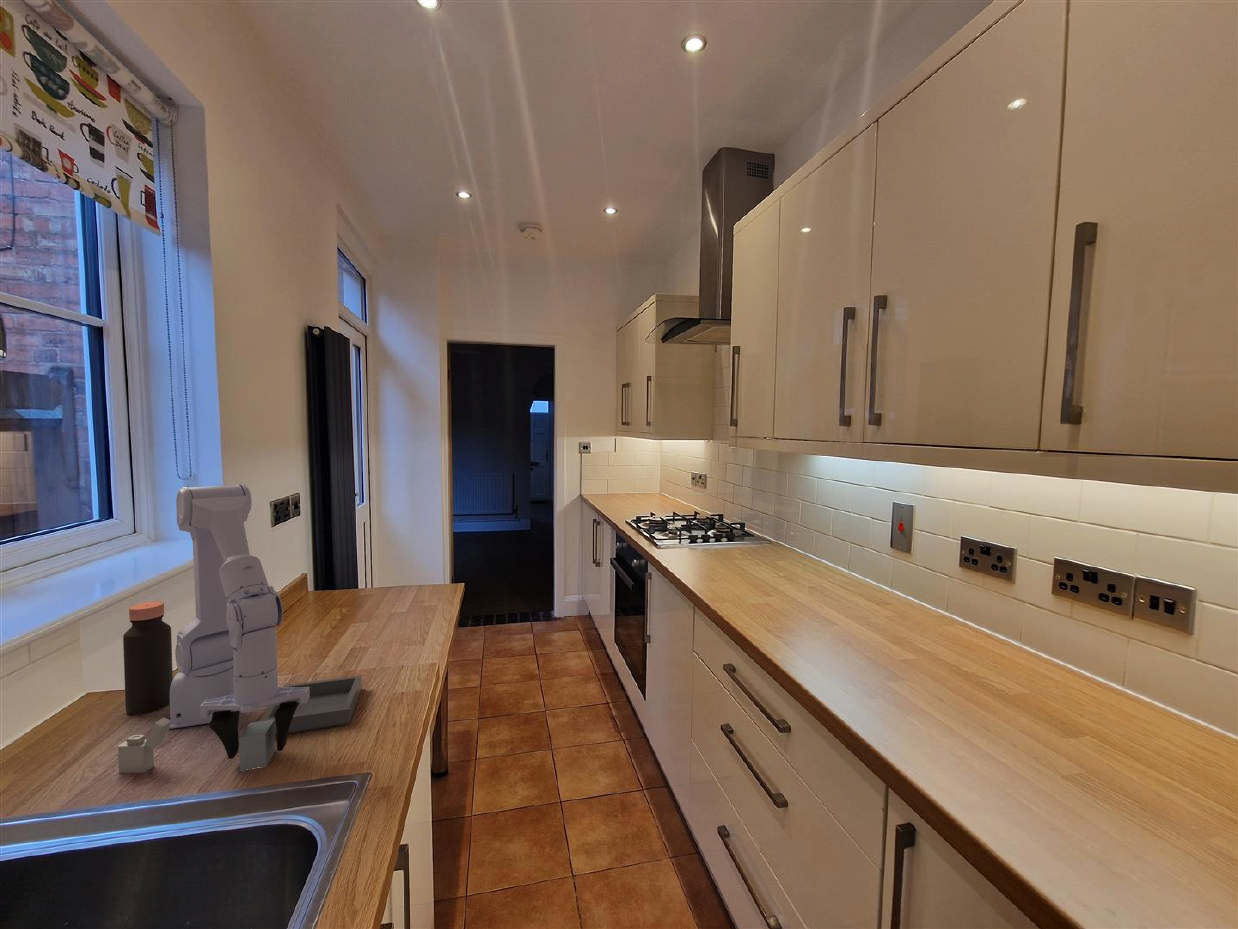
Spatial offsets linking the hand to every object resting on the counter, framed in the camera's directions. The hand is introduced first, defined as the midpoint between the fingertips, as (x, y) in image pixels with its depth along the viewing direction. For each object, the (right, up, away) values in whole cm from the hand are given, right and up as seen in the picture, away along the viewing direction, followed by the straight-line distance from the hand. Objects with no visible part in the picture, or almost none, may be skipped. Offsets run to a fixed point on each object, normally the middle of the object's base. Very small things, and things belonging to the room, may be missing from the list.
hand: (258, 751), depth 81 cm
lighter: (-16, -2, -2) cm, 16 cm away
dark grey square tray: (0, -1, +15) cm, 15 cm away
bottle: (-33, -1, +16) cm, 37 cm away
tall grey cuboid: (0, -2, 0) cm, 2 cm away
